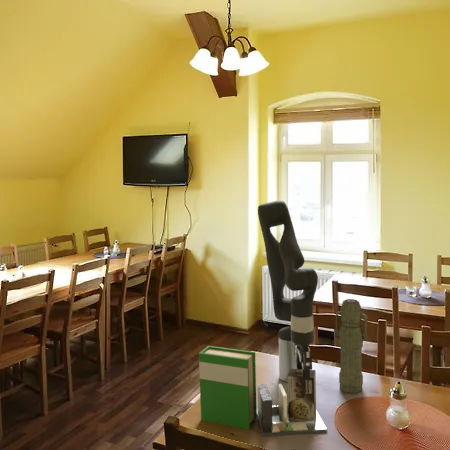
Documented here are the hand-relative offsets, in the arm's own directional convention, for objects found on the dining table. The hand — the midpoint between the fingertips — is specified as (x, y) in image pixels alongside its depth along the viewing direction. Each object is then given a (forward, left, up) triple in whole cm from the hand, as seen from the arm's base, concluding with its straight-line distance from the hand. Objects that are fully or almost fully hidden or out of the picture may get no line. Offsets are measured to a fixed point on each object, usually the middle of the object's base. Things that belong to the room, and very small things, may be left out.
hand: (303, 374), depth 162 cm
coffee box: (0, 0, -16) cm, 16 cm away
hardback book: (-4, -25, -17) cm, 30 cm away
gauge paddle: (+2, -7, -15) cm, 17 cm away
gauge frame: (0, -5, -17) cm, 17 cm away
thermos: (-21, +24, -17) cm, 36 cm away
